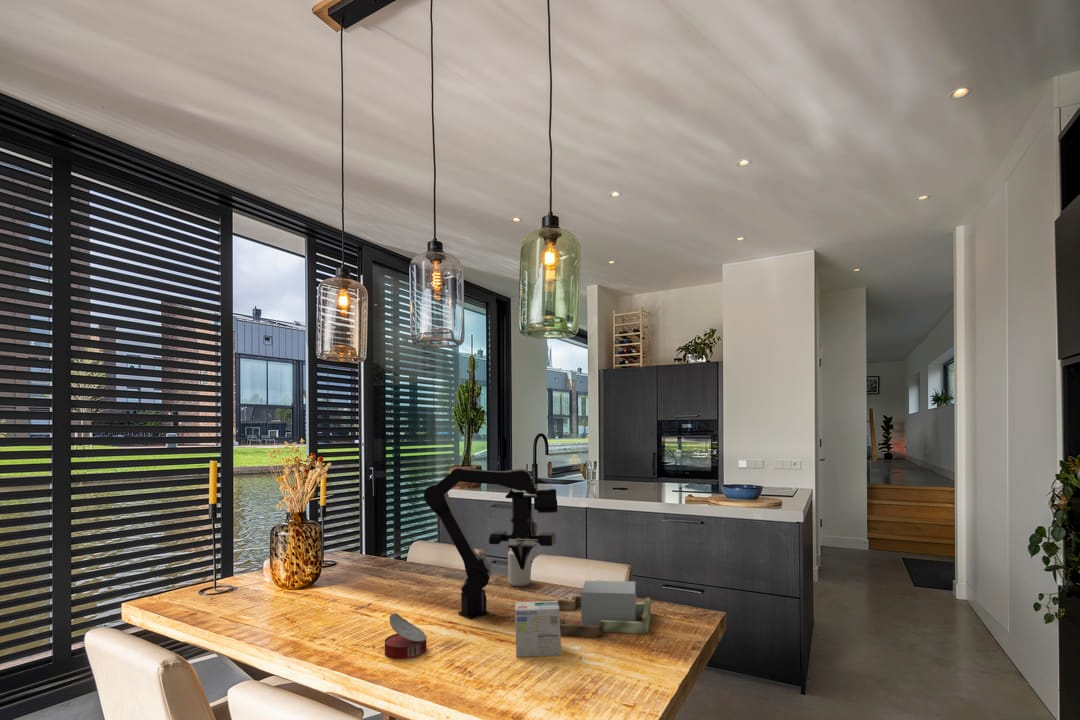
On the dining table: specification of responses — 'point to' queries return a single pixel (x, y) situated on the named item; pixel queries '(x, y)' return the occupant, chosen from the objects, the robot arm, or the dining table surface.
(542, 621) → the light bulb box
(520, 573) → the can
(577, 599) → the lane
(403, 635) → the canned food
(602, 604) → the block
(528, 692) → the dining table surface
